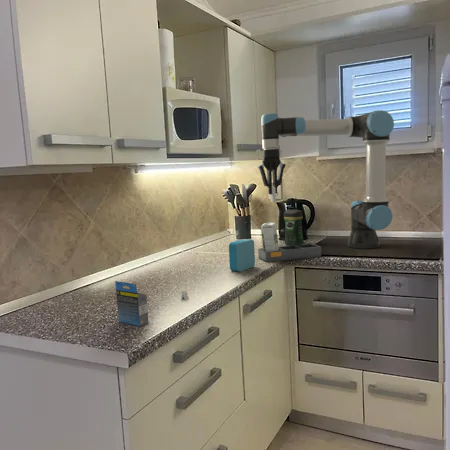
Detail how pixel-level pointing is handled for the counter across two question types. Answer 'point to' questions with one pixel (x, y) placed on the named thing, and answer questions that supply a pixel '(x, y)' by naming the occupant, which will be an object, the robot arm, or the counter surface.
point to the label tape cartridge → (131, 304)
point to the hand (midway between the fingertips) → (273, 201)
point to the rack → (290, 252)
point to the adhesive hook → (184, 294)
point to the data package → (241, 255)
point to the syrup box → (269, 237)
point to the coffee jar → (293, 227)
